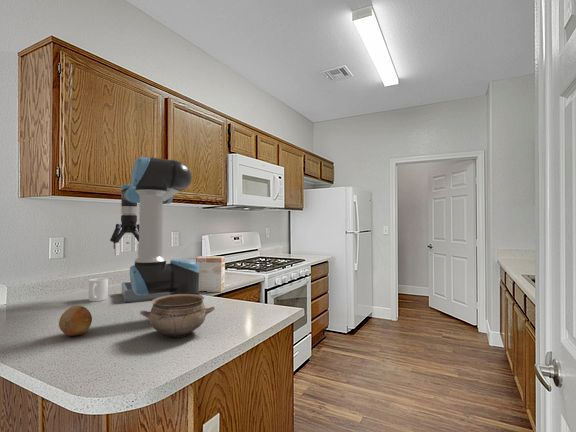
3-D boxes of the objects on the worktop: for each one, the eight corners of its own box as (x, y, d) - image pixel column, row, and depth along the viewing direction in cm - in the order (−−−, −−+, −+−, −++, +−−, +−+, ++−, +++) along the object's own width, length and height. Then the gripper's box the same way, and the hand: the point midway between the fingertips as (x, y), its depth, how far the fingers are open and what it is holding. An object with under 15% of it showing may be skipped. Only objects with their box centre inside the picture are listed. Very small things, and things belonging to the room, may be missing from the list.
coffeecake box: (224, 289, 196) (225, 256, 196) (221, 292, 189) (221, 257, 189) (199, 289, 197) (200, 255, 198) (195, 291, 190) (195, 257, 191)
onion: (53, 341, 111) (54, 310, 111) (64, 332, 121) (65, 303, 121) (86, 339, 114) (87, 309, 114) (95, 329, 123) (95, 302, 123)
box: (125, 303, 163) (125, 290, 163) (121, 293, 184) (121, 282, 184) (177, 297, 175) (177, 286, 175) (168, 289, 196) (168, 279, 196)
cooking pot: (214, 323, 131) (214, 292, 131) (215, 340, 113) (215, 303, 113) (144, 328, 125) (145, 295, 125) (134, 347, 107) (134, 308, 107)
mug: (100, 303, 162) (101, 281, 163) (82, 303, 161) (82, 282, 161) (110, 297, 174) (110, 277, 174) (93, 298, 173) (93, 278, 173)
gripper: (154, 215, 176) (154, 255, 176) (113, 214, 182) (112, 254, 181) (145, 214, 169) (145, 257, 169) (102, 214, 174) (102, 255, 174)
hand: (128, 255), depth 175 cm, fingers open, 13 cm apart
